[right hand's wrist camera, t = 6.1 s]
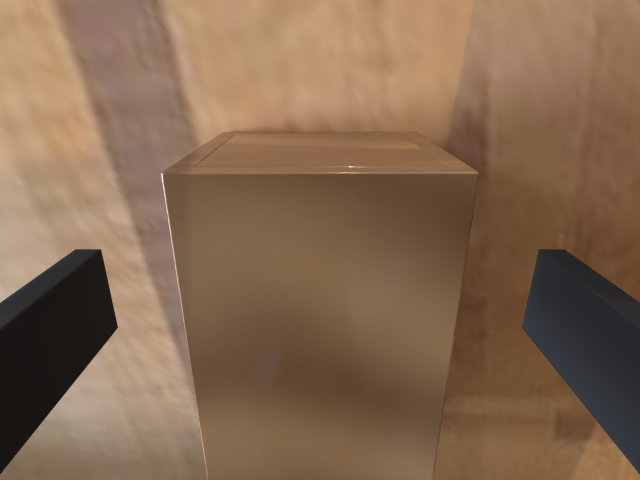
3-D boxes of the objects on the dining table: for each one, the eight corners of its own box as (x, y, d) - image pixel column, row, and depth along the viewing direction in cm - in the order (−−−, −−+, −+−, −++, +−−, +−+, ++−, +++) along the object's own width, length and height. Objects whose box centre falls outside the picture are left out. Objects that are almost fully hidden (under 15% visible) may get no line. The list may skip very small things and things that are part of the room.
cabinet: (393, 399, 28) (424, 536, 20) (245, 399, 28) (215, 537, 20) (417, 131, 21) (480, 172, 13) (221, 132, 21) (159, 172, 13)
